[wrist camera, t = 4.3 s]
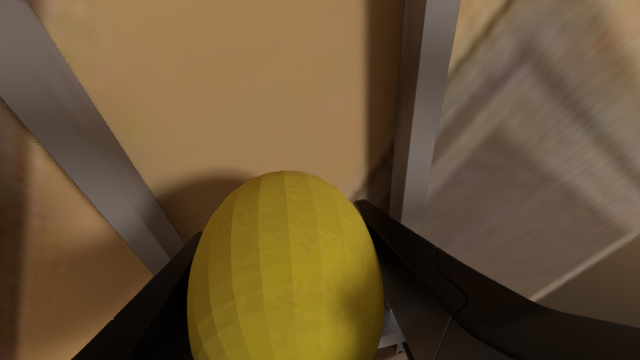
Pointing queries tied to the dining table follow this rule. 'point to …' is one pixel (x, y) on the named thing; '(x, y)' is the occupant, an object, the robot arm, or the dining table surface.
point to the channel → (126, 183)
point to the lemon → (285, 276)
